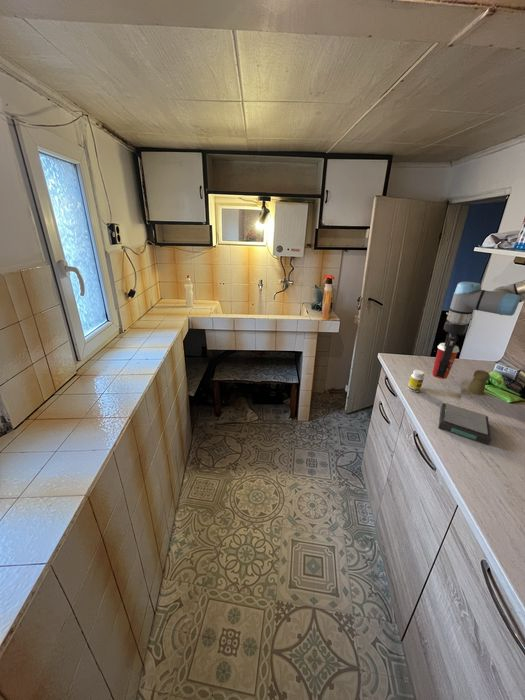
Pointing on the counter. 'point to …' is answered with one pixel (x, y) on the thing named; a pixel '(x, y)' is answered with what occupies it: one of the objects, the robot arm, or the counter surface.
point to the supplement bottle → (416, 381)
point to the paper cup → (439, 358)
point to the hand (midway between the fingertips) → (440, 373)
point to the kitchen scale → (465, 423)
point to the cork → (479, 382)
